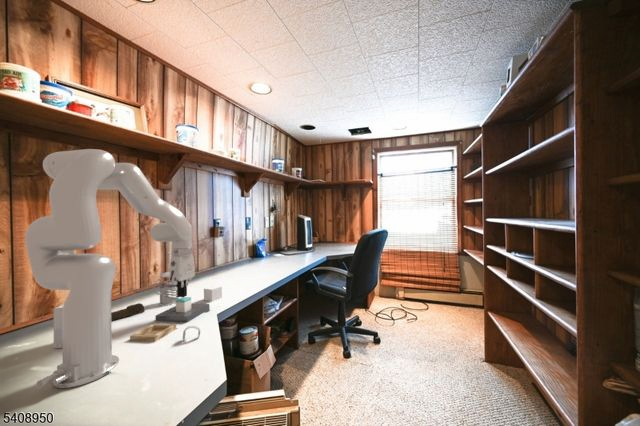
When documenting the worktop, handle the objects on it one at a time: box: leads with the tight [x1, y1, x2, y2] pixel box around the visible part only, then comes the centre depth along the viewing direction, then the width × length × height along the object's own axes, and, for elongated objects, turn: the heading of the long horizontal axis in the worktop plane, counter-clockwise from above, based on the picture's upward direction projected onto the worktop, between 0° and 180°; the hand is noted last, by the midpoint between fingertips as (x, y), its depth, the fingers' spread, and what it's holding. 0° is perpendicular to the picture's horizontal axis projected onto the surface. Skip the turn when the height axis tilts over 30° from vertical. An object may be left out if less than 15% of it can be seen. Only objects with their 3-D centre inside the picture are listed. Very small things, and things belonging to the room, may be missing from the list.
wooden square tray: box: [128, 323, 179, 343], centre depth 84 cm, size 10×10×2 cm
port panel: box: [154, 302, 211, 323], centre depth 101 cm, size 14×14×3 cm
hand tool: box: [111, 303, 145, 322], centre depth 101 cm, size 19×4×5 cm, turn 141°
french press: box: [152, 251, 180, 307], centre depth 120 cm, size 10×12×25 cm
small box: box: [53, 304, 64, 349], centre depth 82 cm, size 8×6×13 cm
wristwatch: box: [182, 325, 201, 342], centre depth 80 cm, size 3×5×5 cm, turn 111°
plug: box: [175, 296, 192, 312], centre depth 101 cm, size 4×4×7 cm
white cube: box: [203, 285, 223, 302], centre depth 123 cm, size 6×6×6 cm
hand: (182, 296), depth 101 cm, fingers closed
